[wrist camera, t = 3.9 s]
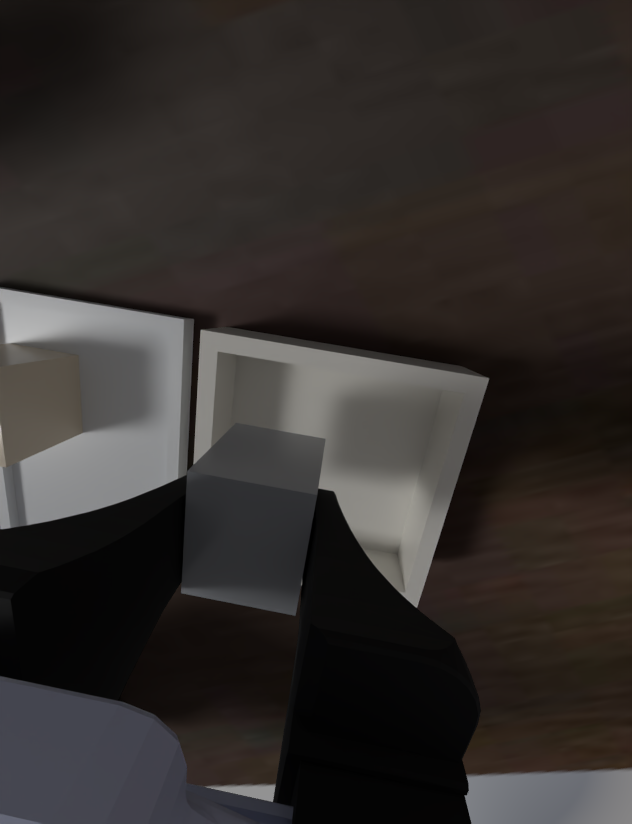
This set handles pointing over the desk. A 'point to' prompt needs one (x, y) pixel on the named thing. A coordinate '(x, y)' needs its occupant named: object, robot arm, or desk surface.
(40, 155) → the desk surface
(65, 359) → the taupe rectangular block
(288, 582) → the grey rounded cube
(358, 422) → the dish
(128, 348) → the parts tray
